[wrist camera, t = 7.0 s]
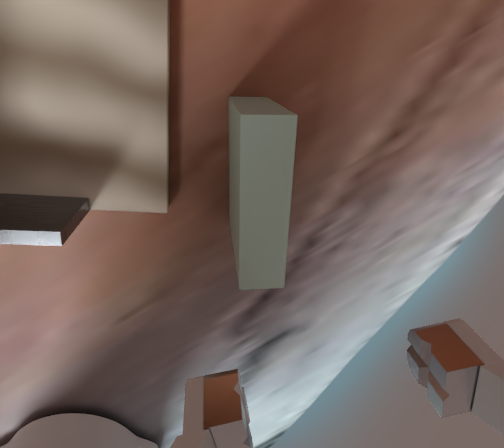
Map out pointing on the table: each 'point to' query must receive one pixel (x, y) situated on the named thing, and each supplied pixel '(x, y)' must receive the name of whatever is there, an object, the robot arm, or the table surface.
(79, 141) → the shelf
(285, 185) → the grey flat block
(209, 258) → the table surface
